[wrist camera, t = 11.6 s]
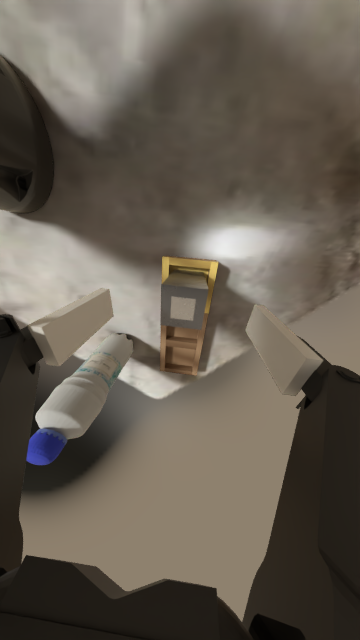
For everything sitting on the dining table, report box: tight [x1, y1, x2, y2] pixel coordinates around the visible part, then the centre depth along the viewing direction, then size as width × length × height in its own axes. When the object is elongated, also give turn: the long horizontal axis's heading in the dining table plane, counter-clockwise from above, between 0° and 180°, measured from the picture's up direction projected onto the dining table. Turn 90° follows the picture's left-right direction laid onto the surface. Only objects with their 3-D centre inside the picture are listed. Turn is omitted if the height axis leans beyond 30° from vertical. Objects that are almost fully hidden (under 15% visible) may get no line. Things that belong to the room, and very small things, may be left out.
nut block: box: [161, 269, 209, 330], centre depth 19 cm, size 4×4×10 cm
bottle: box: [26, 333, 134, 465], centre depth 23 cm, size 7×7×20 cm
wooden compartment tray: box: [160, 256, 219, 376], centre depth 27 cm, size 23×8×3 cm, turn 175°
